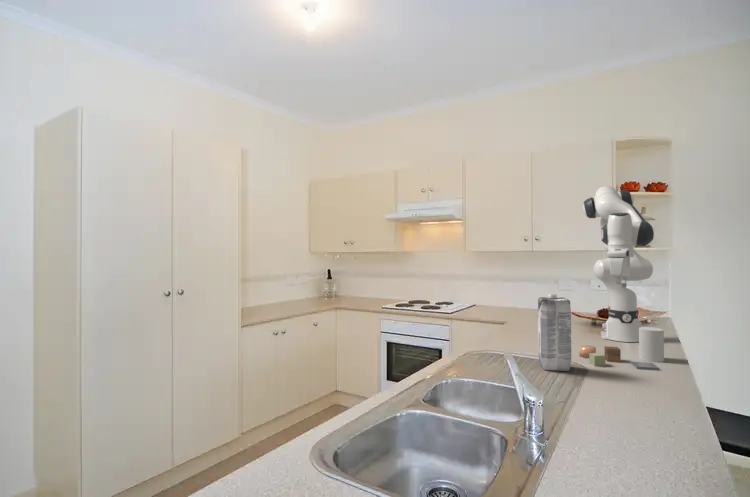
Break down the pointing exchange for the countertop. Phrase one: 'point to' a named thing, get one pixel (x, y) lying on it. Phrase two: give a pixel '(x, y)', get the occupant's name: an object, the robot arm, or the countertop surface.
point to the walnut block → (612, 354)
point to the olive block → (597, 359)
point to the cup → (651, 344)
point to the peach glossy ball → (586, 350)
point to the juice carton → (554, 333)
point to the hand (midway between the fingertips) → (621, 288)
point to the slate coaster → (645, 365)
